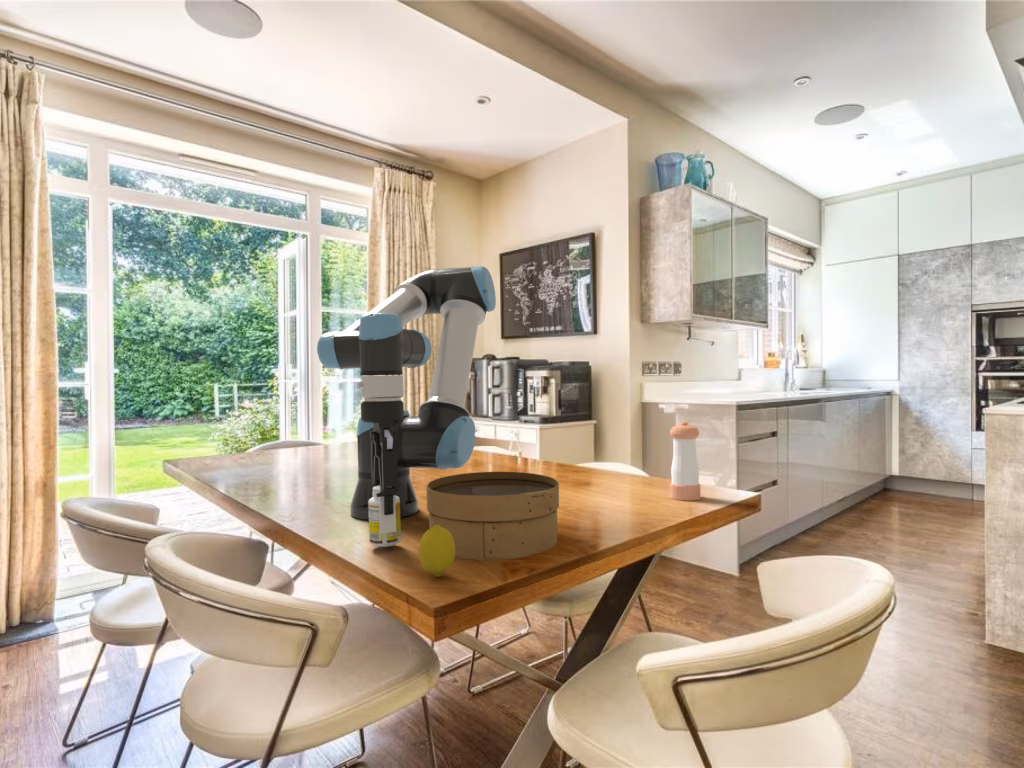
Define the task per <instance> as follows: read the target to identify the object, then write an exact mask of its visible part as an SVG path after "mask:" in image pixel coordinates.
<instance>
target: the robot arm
mask: <svg viewBox="0 0 1024 768" xmlns="http://www.w3.org/2000/svg"><path fill="white" fill-rule="evenodd" d="M496 299H497V298H496V290H495V285H494V281H493V278H492V275H491V272H490V270H489V269H488V268H487V267H485V266H482V265H480V266H473V265H470V267H469V266H467V267H453V268H452V267H450V268H433V269H429V270H425V271H423V272H419V273H418V274H415V275H414V276H411V277H409V278H408V279H406V280H404V281H403V282H401V283H400V284H398V285H397V286H396V287H395V288H394V289H393V290H392V293H391V295H390V296H389V297H388V298H386V299H384V300H383V301H382V302H381V303H379V304H378V305H377V306H376V307H374V308H372V309H371V310H370V311H368V312H367V313H364V314H362V315H361V316H360V318H359V319H358V320H356V321H355V322H353V323H352V324H351V325H349V326H348V327H347V328H345V329H344V330H342V331H336V330H335V331H334V330H333V331H331V332H325V333H323V334H322V335H321V336H320V337H319V339H318V342H317V346H316V353H317V355H318V359H319V362H320V364H322V365H323V366H324V367H325V368H327V369H337V370H338V369H339V370H347V369H350V370H351V369H360V370H359V371H360V373H359V374H360V375H359V376H360V381H357V383H356V386H357V387H358V388H360V397H361V399H364V401H362V402H361V403H360V418H359V420H358V423H357V433H356V438H357V439H356V440H357V475H358V476H357V484H356V486H355V489H354V492H353V497H352V499H351V502H350V516H351V517H353V518H355V519H359V520H368V521H369V506H368V502H369V499H370V498H372V497H373V494H372V493H373V487H375V486H379V485H380V491H381V492H380V493H377V494H376V496H377V497H379V513H380V533H381V534H382V533H390V532H396V498H395V496H398V497H399V499H400V518H404V517H409V516H411V515H413V514H416V513H417V512H418V511H419V507H418V505H419V502H418V497H417V496H416V492H415V489H414V486H413V484H412V479H411V475H410V469H411V468H412V469H437V470H439V469H440V470H441V471H442V470H445V471H446V470H452V469H454V470H455V469H460V468H462V467H464V466H465V465H466V464H467V463H469V460H470V458H471V456H472V455H473V452H474V447H475V443H476V431H477V430H476V424H475V422H474V420H473V418H471V417H470V416H471V415H470V412H469V410H468V409H467V408H466V407H465V405H466V398H467V395H468V394H467V393H468V388H469V381H470V376H471V370H472V363H473V358H474V351H475V346H476V338H477V333H478V326H479V325H481V324H483V323H484V321H485V319H486V314H487V312H488V313H490V312H493V311H494V310H495V309H496V305H497V303H496V301H497V300H496ZM433 314H435V315H436V314H439V315H441V317H442V318H443V324H442V329H441V334H440V339H439V345H438V349H437V354H436V358H435V359H436V360H435V365H434V368H433V369H434V370H433V374H432V378H431V384H430V389H429V394H428V399H427V400H426V401H424V402H423V403H421V404H420V406H419V410H418V414H417V416H416V415H415V416H410V415H411V413H410V412H409V410H406V409H405V407H404V402H403V399H401V398H403V397H404V396H405V395H404V372H403V369H404V368H407V369H410V368H411V369H414V368H418V367H422V366H423V365H425V364H426V363H427V362H428V361H429V360H430V358H431V356H432V352H433V351H432V349H433V348H432V343H431V341H430V338H429V337H428V336H427V335H426V334H424V333H423V332H420V331H418V330H416V329H409V328H404V327H405V326H406V325H408V324H409V323H410V321H412V320H419V319H420V318H421V317H423V316H425V315H433ZM404 409H405V410H404Z"/></svg>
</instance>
